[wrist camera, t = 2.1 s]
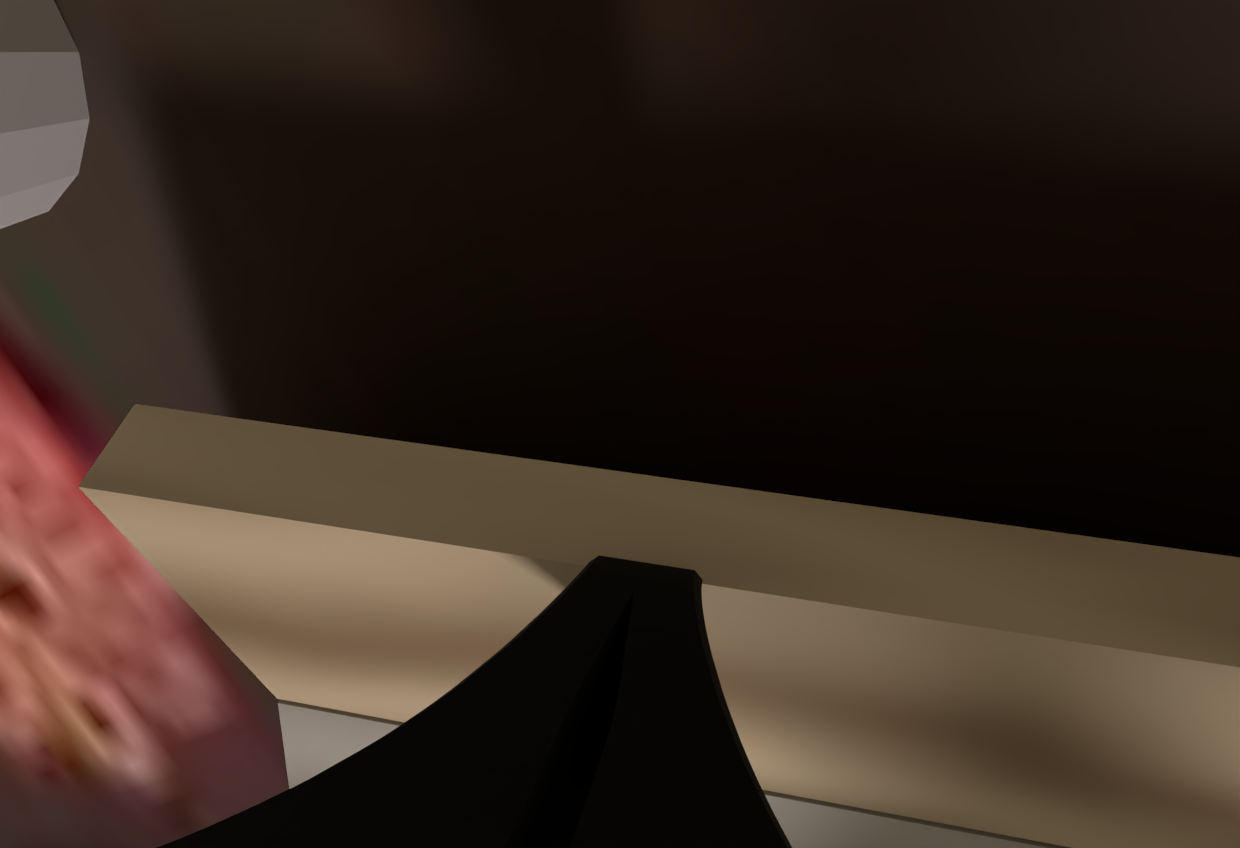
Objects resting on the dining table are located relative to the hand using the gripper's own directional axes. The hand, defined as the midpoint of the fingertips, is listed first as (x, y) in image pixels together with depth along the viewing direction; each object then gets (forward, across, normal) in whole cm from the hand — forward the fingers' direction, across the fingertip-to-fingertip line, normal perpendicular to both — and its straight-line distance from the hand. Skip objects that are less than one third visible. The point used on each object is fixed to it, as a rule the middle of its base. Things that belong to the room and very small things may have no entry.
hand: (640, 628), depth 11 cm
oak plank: (+3, -3, +2) cm, 5 cm away
